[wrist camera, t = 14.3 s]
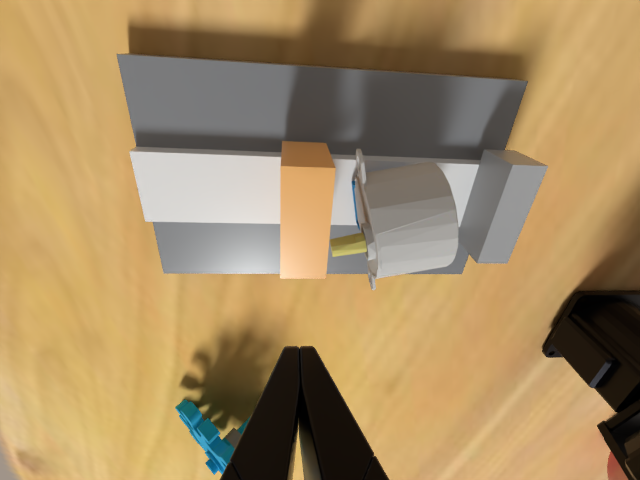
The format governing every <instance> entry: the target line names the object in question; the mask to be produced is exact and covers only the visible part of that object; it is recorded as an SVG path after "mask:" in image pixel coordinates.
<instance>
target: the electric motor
mask: <svg viewBox="0 0 640 480" xmlns="http://www.w3.org/2000/svg"><path fill="white" fill-rule="evenodd" d="M356 162H357V170H358V174H357V175H356V176H355V181H352V191H353V199H354V208H355V217H356V223H357V226H358V229H360V232H361V233H357V234H352V235H347V236H343V237H338V238H334V239H330V245H331V251H332V256H333V257H335V256H343V255H350V254H357V253H363V252H364V253H365V257H366V259H367V266H368V277H369V282H370V286H371V289H372V290H375V288H376V286H375V279H377V278H383V277H389V276H395V275H400V274H406V273H412V272H418V271H424V270H429V269H435V268H441V267H447V266H448V265H450V264H451V263H452V262H453V260H454V259H455V256H456V252H457V249H458V233H459V226H458V218H457V210H456V204H455V201H454V197H453V194H452V191H451V187H450V184H449V182H448V180H447V178H446V176H445V174H444V173H443V171H442V170H441V169H440V168H439V167H438V166H437V165H436V164H435V163H434V162H424V163H419V164H413V165H407V166H402V167H396V168H390V169H384V170H379V171H373V172H367V173H365V165H364V159H363V155H362V151H361V149H356Z"/></svg>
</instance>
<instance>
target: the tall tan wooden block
mask: <svg viewBox="0 0 640 480" xmlns="http://www.w3.org/2000/svg"><path fill="white" fill-rule="evenodd" d="M335 171H336V167H335V165H334V162H333V159H332V157H331V154H330V152H329V149H328V146H327V144H326V143H317V142H293V141H282V151H281V166H280V278H326V273H327V261H328V250H329V239H330V228H331V216H332V205H333V194H334V182H335Z"/></svg>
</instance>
